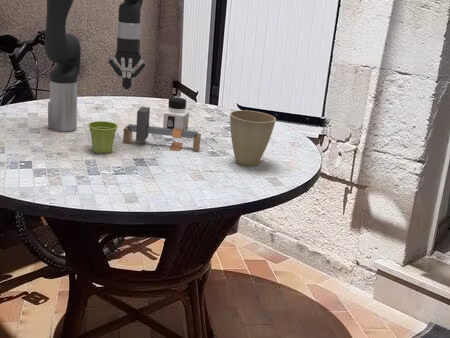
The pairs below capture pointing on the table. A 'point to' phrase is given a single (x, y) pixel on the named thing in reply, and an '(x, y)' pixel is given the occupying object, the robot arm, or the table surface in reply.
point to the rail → (165, 131)
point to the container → (176, 114)
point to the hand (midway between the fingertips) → (126, 88)
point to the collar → (142, 123)
